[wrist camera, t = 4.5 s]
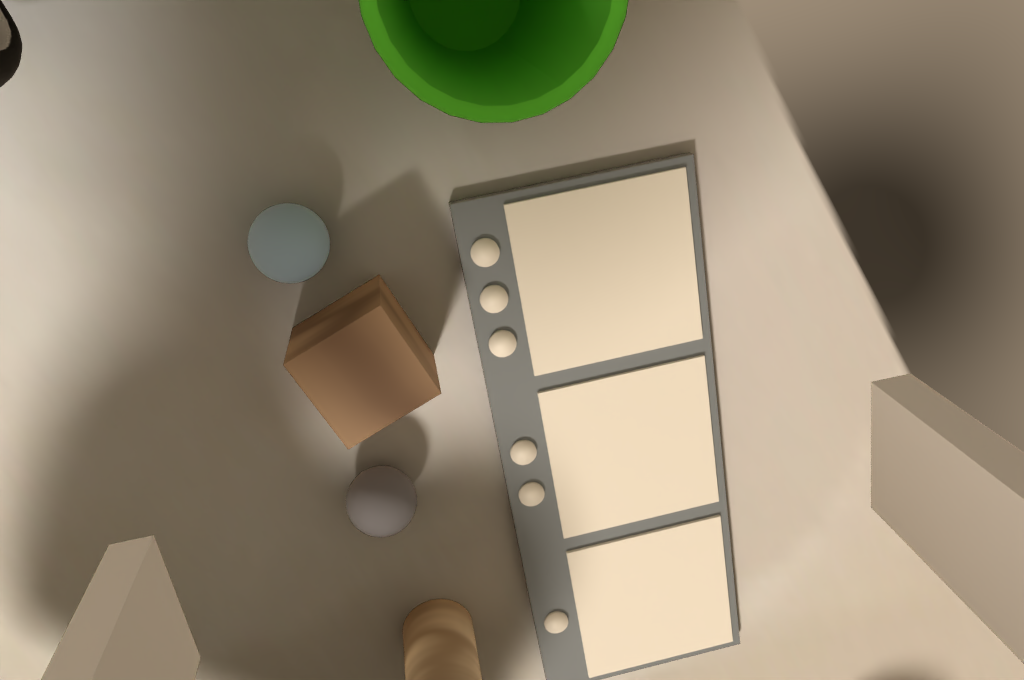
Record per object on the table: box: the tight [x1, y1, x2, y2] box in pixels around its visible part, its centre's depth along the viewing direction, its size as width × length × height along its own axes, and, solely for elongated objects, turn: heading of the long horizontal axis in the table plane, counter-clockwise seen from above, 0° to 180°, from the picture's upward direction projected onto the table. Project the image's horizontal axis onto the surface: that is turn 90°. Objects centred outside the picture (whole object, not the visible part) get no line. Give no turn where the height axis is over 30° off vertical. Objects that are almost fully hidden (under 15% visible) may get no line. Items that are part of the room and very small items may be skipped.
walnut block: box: [283, 275, 441, 449], centre depth 41 cm, size 5×5×5 cm
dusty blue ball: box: [248, 203, 330, 283], centre depth 39 cm, size 4×4×4 cm
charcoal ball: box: [346, 466, 417, 537], centre depth 44 cm, size 4×4×4 cm
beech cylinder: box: [403, 599, 482, 680], centre depth 47 cm, size 4×4×6 cm
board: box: [449, 153, 740, 680], centre depth 47 cm, size 12×30×1 cm, turn 10°
